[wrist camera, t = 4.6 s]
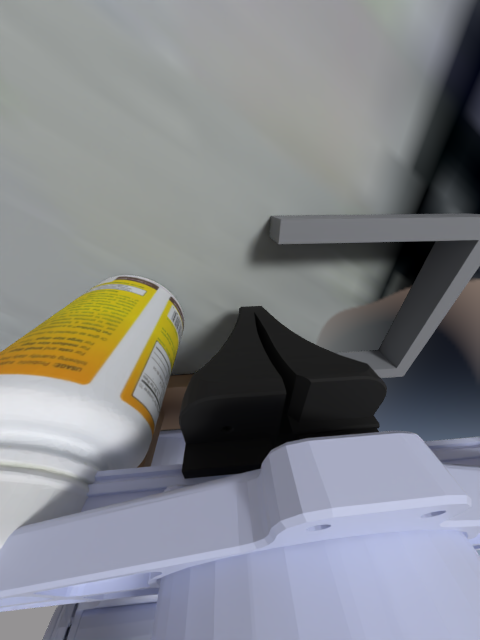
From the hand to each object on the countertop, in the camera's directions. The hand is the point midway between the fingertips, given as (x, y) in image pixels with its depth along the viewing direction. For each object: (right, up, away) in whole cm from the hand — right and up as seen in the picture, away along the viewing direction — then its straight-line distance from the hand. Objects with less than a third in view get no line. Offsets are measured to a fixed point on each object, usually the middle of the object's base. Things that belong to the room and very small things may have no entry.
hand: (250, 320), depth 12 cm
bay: (+6, +1, +2) cm, 6 cm away
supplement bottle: (-7, +1, +1) cm, 7 cm away
